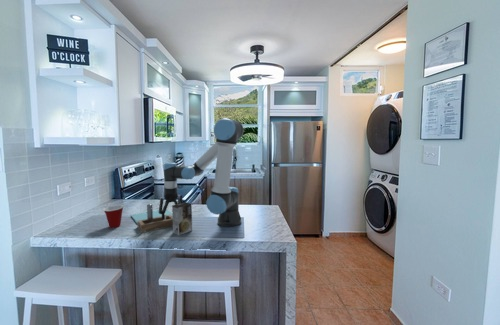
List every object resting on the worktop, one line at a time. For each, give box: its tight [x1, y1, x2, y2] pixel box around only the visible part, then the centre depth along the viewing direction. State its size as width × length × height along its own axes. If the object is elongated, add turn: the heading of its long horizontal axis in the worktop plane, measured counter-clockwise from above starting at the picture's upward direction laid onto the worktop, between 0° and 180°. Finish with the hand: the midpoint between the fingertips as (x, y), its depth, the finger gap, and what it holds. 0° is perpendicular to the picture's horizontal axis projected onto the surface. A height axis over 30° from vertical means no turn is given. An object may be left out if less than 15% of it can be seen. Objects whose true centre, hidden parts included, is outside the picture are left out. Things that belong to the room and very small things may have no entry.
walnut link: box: [137, 215, 173, 233], centre depth 145 cm, size 10×20×4 cm, turn 127°
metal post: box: [146, 203, 154, 223], centre depth 142 cm, size 3×3×14 cm
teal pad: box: [130, 209, 173, 225], centre depth 163 cm, size 20×24×1 cm
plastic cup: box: [102, 204, 124, 229], centre depth 144 cm, size 11×11×12 cm
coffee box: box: [171, 201, 193, 236], centre depth 135 cm, size 9×6×16 cm
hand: (171, 222), depth 150 cm, fingers open, 8 cm apart
